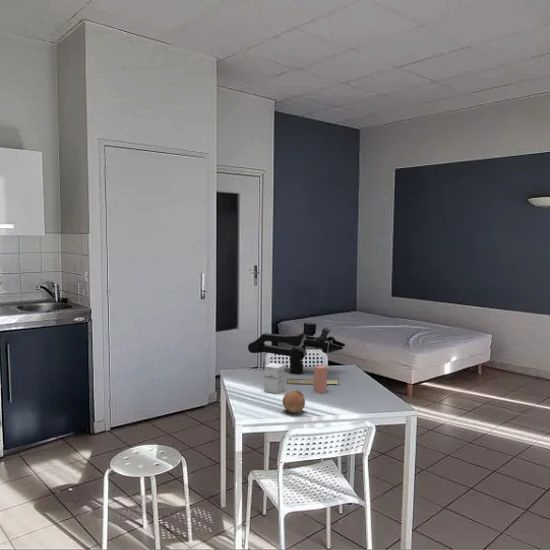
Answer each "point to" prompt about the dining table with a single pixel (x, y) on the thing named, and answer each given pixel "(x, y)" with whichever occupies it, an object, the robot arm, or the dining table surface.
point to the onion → (294, 402)
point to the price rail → (309, 381)
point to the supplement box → (274, 378)
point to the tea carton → (320, 379)
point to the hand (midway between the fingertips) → (344, 346)
